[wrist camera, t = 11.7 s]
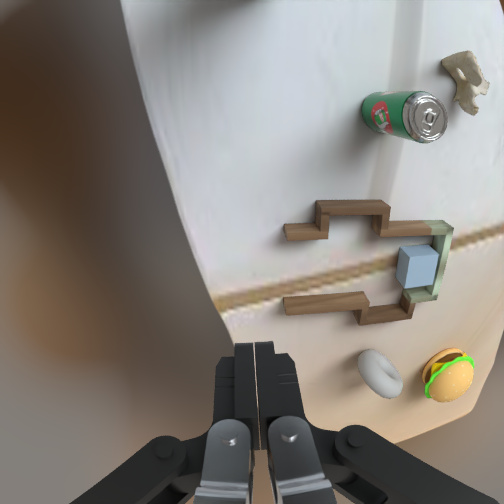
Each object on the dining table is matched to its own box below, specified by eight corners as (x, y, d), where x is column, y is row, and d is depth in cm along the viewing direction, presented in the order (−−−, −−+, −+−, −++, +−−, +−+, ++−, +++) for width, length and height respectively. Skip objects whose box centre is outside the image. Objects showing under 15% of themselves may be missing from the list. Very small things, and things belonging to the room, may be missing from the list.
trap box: (284, 201, 39) (287, 208, 36) (446, 200, 40) (457, 207, 37) (283, 319, 47) (285, 332, 44) (423, 305, 47) (431, 315, 45)
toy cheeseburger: (421, 352, 52) (440, 383, 45) (469, 335, 52) (490, 362, 44) (412, 390, 58) (426, 419, 50) (456, 373, 57) (473, 400, 49)
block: (399, 246, 43) (409, 257, 40) (427, 243, 43) (438, 254, 40) (394, 276, 45) (404, 288, 42) (422, 273, 45) (432, 284, 42)
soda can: (401, 102, 34) (456, 107, 23) (388, 137, 36) (440, 153, 25) (367, 85, 33) (416, 81, 22) (354, 122, 35) (399, 131, 24)
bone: (491, 112, 32) (508, 117, 25) (452, 114, 36) (460, 120, 28) (478, 55, 29) (491, 46, 22) (438, 58, 33) (443, 49, 25)
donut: (394, 356, 52) (413, 396, 43) (380, 368, 53) (398, 408, 44) (361, 336, 49) (380, 380, 40) (346, 349, 51) (363, 394, 42)
